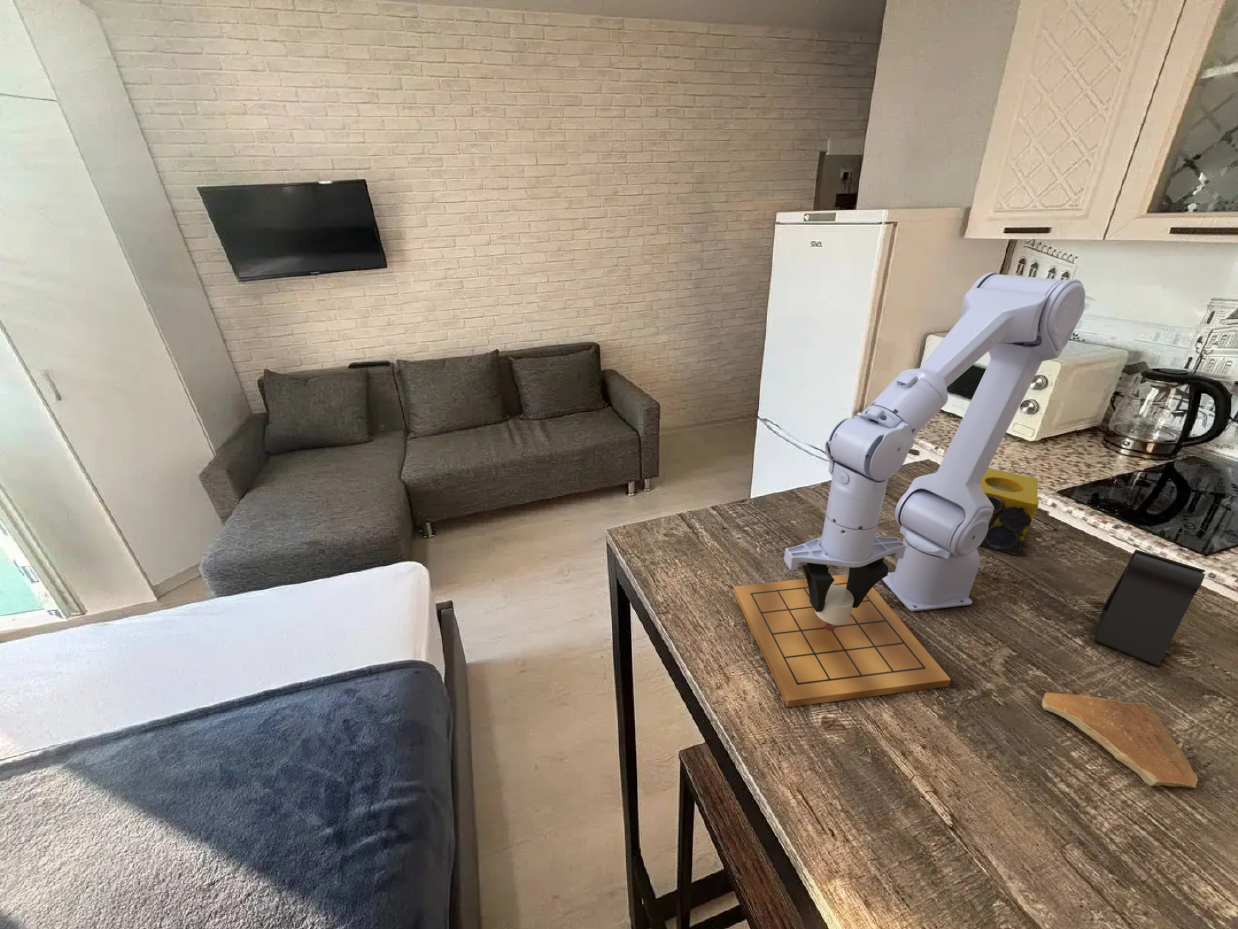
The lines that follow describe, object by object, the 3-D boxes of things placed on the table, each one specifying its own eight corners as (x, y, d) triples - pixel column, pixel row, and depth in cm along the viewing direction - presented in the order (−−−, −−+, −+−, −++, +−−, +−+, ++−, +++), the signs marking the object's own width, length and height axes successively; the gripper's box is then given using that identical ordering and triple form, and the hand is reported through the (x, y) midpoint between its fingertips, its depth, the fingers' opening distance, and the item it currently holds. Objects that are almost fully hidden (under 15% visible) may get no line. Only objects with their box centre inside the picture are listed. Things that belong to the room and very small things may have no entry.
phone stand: (1102, 606, 71) (1139, 535, 66) (1162, 628, 67) (1206, 555, 62) (1092, 641, 66) (1131, 567, 60) (1157, 668, 62) (1204, 591, 56)
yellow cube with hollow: (952, 510, 94) (967, 462, 90) (1020, 527, 89) (1039, 477, 84) (946, 537, 87) (961, 486, 82) (1018, 557, 81) (1039, 504, 77)
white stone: (839, 599, 69) (843, 582, 68) (856, 623, 65) (861, 605, 64) (808, 603, 69) (811, 585, 67) (823, 626, 65) (827, 608, 63)
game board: (859, 578, 78) (860, 572, 78) (948, 686, 61) (951, 679, 60) (733, 592, 77) (733, 585, 76) (787, 707, 59) (788, 700, 58)
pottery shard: (1033, 699, 59) (1040, 684, 58) (1114, 696, 59) (1123, 681, 57) (1113, 792, 49) (1123, 776, 48) (1210, 789, 49) (1222, 773, 48)
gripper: (889, 494, 64) (870, 579, 70) (779, 504, 63) (768, 590, 69) (926, 525, 58) (900, 615, 64) (804, 537, 57) (790, 627, 63)
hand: (834, 604), depth 66 cm, fingers closed on white stone, 4 cm apart
